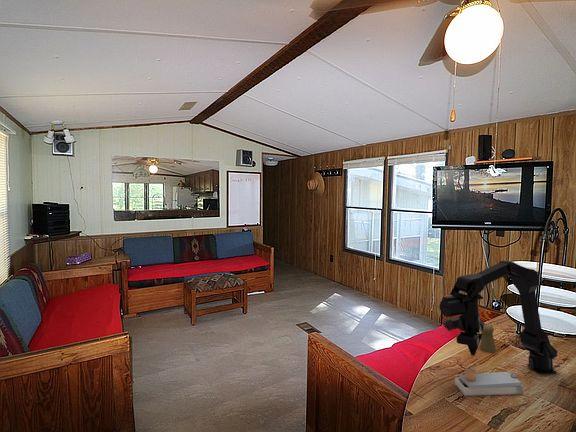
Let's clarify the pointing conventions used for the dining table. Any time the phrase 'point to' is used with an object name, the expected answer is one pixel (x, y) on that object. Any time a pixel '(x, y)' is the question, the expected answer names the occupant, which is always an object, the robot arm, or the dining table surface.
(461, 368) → the dining table surface
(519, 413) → the dining table surface
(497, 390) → the white tray with rod
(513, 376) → the cover
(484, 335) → the olive brown bulbous cylinder
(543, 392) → the dining table surface
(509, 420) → the dining table surface
